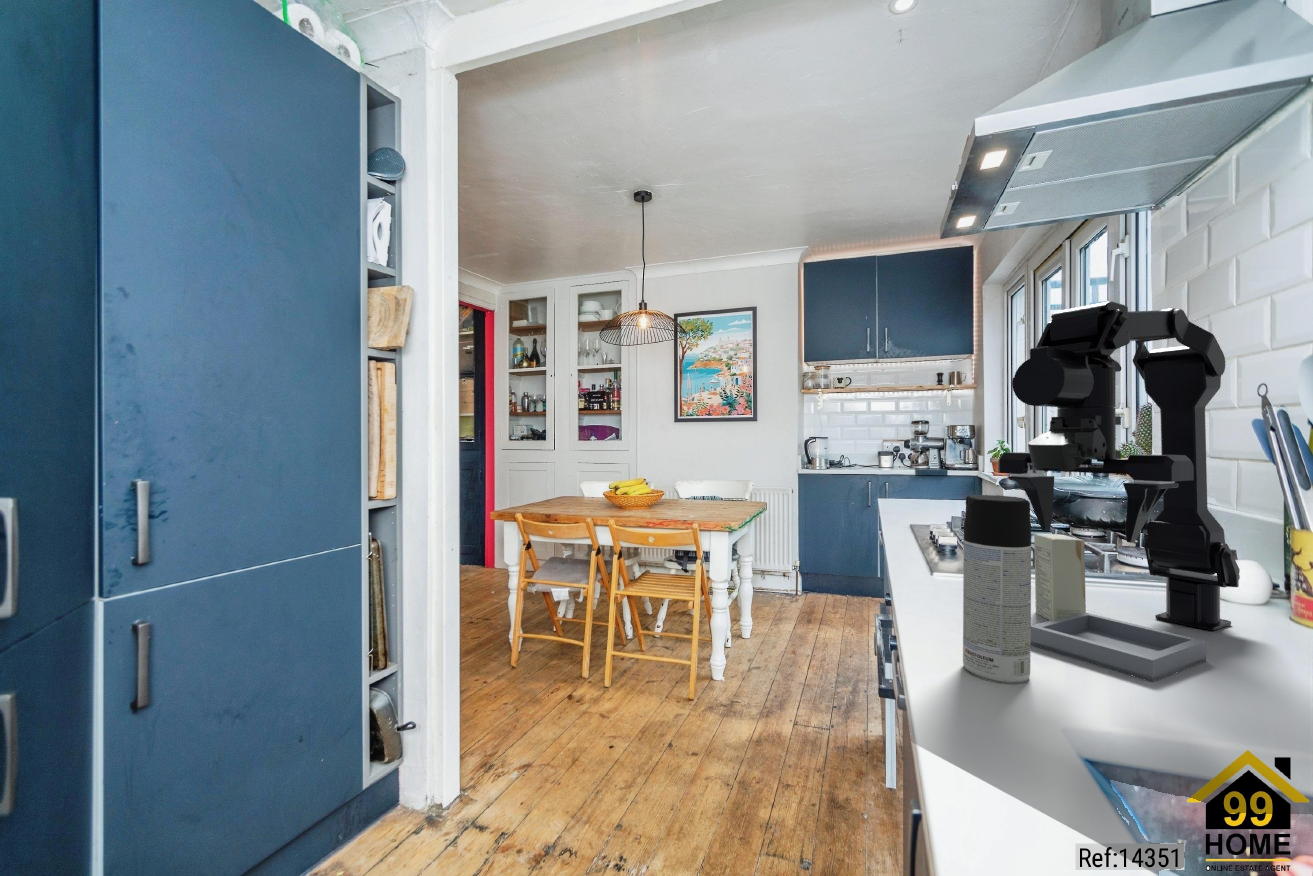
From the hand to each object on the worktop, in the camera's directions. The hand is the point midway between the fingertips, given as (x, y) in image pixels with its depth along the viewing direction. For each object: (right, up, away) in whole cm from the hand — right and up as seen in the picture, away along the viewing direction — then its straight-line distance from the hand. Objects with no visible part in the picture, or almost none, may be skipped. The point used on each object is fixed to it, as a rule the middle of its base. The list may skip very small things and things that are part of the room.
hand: (1085, 536), depth 70 cm
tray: (+4, -15, +1) cm, 15 cm away
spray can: (-14, -15, -5) cm, 21 cm away
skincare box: (+7, -15, +15) cm, 22 cm away
